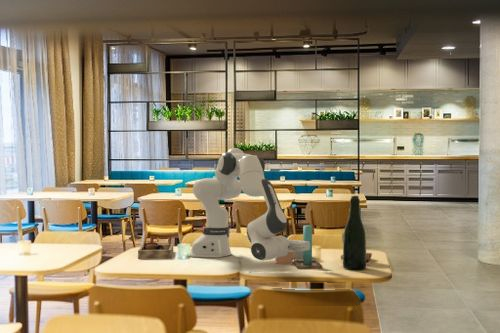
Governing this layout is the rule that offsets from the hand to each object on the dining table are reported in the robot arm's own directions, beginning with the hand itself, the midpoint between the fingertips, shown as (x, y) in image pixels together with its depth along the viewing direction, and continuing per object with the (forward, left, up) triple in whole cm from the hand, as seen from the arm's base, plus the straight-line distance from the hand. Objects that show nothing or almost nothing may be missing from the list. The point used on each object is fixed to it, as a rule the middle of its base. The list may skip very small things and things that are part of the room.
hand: (296, 242), depth 275 cm
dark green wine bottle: (+27, +5, -13) cm, 30 cm away
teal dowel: (+6, +8, -12) cm, 15 cm away
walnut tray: (+6, +8, -13) cm, 16 cm away
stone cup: (+32, +23, -13) cm, 41 cm away
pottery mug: (-67, +39, -13) cm, 79 cm away
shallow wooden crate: (-66, +43, -13) cm, 80 cm away
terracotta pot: (-4, +17, -13) cm, 21 cm away
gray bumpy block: (+4, +31, -13) cm, 34 cm away
